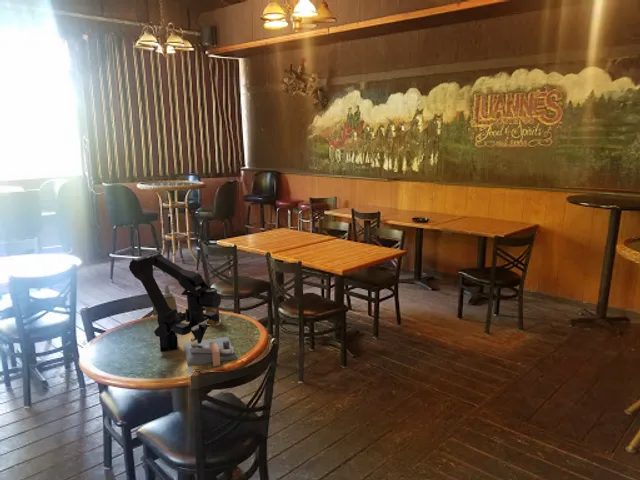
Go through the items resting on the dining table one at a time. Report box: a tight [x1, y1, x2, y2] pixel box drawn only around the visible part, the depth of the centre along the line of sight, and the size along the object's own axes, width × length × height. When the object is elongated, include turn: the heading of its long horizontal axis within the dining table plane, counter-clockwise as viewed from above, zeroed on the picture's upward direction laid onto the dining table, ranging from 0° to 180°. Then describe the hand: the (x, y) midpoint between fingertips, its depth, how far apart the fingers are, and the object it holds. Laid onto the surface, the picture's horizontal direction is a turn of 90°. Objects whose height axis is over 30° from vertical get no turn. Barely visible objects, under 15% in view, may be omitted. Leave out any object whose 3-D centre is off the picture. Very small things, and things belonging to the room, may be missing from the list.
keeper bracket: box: [209, 342, 221, 367], centre depth 190 cm, size 2×10×6 cm, turn 19°
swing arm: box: [190, 337, 235, 355], centre depth 194 cm, size 17×5×5 cm, turn 81°
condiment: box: [204, 306, 222, 326], centre depth 229 cm, size 7×8×12 cm
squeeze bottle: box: [162, 284, 178, 311], centre depth 230 cm, size 8×8×18 cm
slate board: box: [183, 336, 237, 367], centre depth 198 cm, size 18×20×1 cm
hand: (199, 343), depth 198 cm, fingers closed
